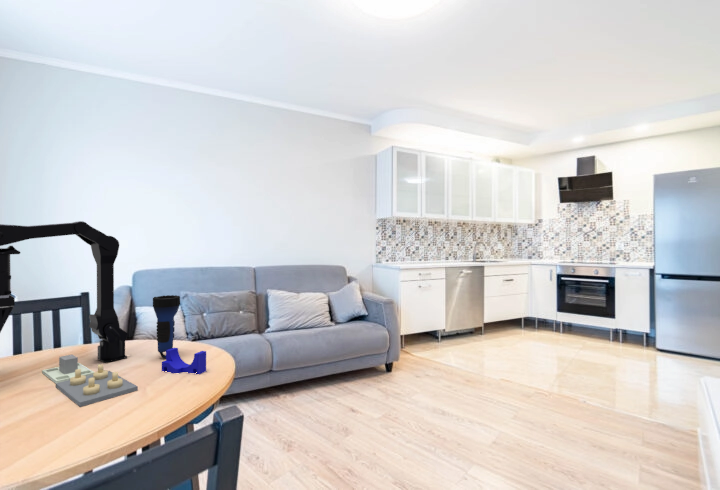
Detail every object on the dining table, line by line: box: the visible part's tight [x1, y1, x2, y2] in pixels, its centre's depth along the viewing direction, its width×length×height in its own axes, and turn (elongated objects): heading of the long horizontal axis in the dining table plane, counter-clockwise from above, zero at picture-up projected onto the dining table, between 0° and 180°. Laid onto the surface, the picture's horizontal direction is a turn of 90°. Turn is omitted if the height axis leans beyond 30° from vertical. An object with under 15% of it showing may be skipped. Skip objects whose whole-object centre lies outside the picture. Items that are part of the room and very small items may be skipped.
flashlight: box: [152, 294, 181, 359], centre depth 119 cm, size 8×8×20 cm
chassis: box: [55, 363, 139, 408], centre depth 93 cm, size 12×19×4 cm, turn 53°
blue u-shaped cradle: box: [161, 347, 207, 375], centre depth 106 cm, size 12×4×6 cm, turn 71°
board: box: [41, 354, 95, 384], centre depth 104 cm, size 9×14×5 cm, turn 53°
